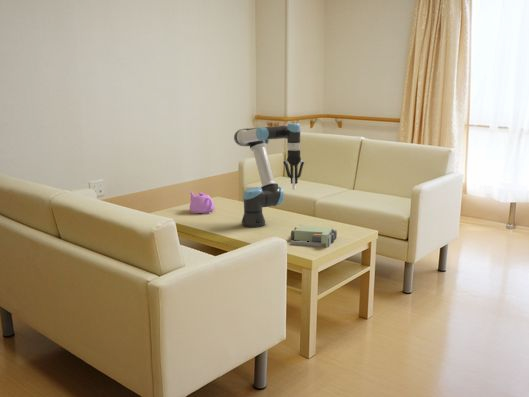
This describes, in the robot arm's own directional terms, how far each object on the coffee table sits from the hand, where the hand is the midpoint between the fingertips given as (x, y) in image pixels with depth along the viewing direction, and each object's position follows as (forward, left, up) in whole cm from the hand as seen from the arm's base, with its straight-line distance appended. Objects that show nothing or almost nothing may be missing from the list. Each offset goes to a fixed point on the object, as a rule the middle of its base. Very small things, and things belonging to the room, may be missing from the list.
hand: (294, 188), depth 333 cm
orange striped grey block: (+21, -23, -26) cm, 40 cm away
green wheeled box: (+15, -17, -26) cm, 35 cm away
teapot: (-79, +37, -27) cm, 91 cm away
